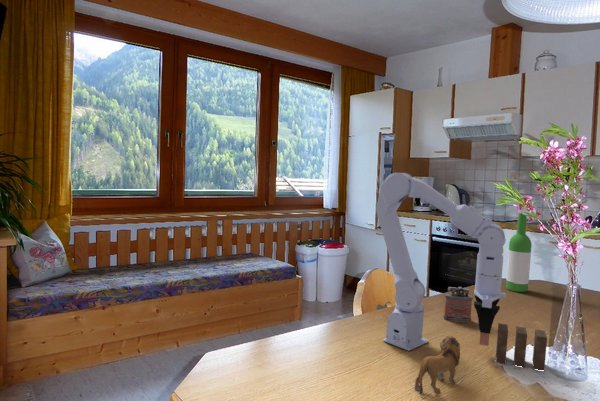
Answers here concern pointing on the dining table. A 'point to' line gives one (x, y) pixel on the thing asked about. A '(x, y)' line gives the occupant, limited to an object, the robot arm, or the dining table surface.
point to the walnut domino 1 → (501, 343)
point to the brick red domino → (484, 339)
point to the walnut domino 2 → (520, 346)
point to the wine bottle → (519, 258)
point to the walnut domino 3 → (539, 349)
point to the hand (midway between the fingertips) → (484, 328)
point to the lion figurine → (440, 364)
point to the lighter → (458, 305)
